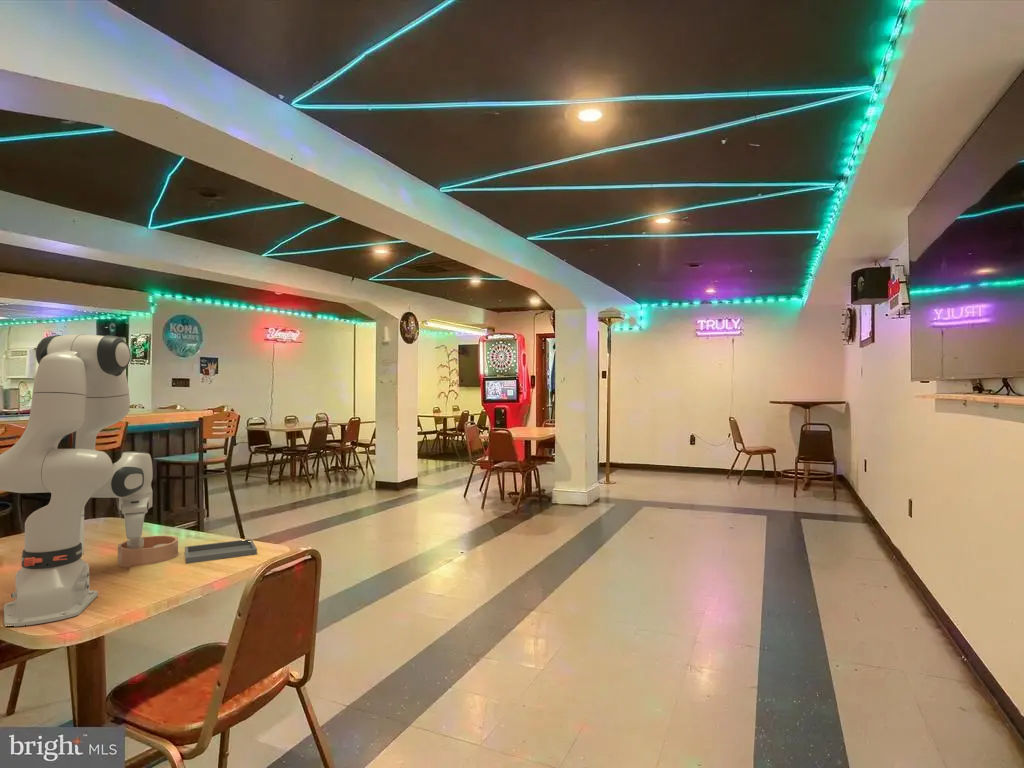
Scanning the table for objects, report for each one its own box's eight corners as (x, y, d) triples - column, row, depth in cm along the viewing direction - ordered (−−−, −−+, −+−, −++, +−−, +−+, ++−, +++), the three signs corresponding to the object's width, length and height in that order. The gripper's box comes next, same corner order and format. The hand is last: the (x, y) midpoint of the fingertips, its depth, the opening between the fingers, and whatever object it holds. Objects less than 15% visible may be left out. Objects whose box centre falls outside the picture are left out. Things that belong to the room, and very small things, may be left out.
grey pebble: (143, 550, 181) (143, 540, 181) (126, 553, 179) (126, 542, 179) (144, 547, 185) (144, 537, 185) (127, 549, 182) (127, 539, 182)
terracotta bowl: (178, 562, 181) (178, 545, 181) (116, 570, 172) (116, 552, 172) (177, 549, 194) (177, 533, 194) (119, 556, 186) (120, 539, 186)
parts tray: (256, 556, 188) (256, 548, 188) (185, 566, 177) (185, 557, 177) (251, 546, 200) (251, 538, 200) (184, 554, 189) (184, 546, 189)
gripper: (125, 497, 189) (125, 540, 189) (121, 509, 171) (121, 556, 171) (148, 496, 192) (148, 537, 192) (146, 507, 175) (146, 553, 175)
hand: (135, 546), depth 182 cm, fingers closed on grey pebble, 4 cm apart
